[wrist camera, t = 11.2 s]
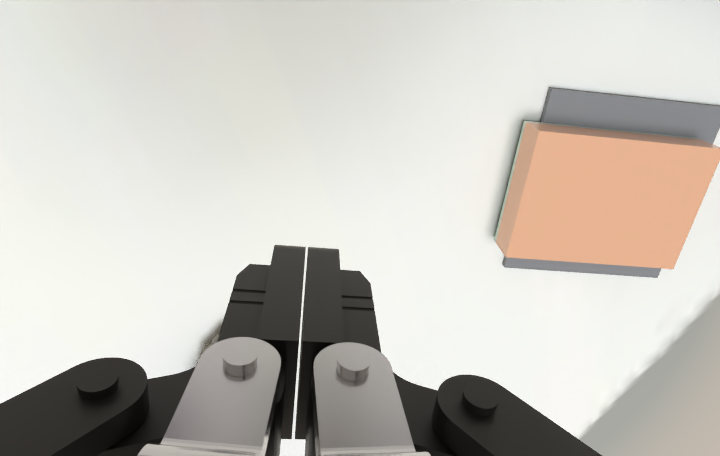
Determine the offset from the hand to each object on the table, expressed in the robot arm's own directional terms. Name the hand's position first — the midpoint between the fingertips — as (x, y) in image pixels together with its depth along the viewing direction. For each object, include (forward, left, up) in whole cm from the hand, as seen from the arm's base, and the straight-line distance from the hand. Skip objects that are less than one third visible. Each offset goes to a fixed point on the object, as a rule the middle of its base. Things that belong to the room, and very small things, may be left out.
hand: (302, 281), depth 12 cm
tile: (+6, +15, -25) cm, 30 cm away
